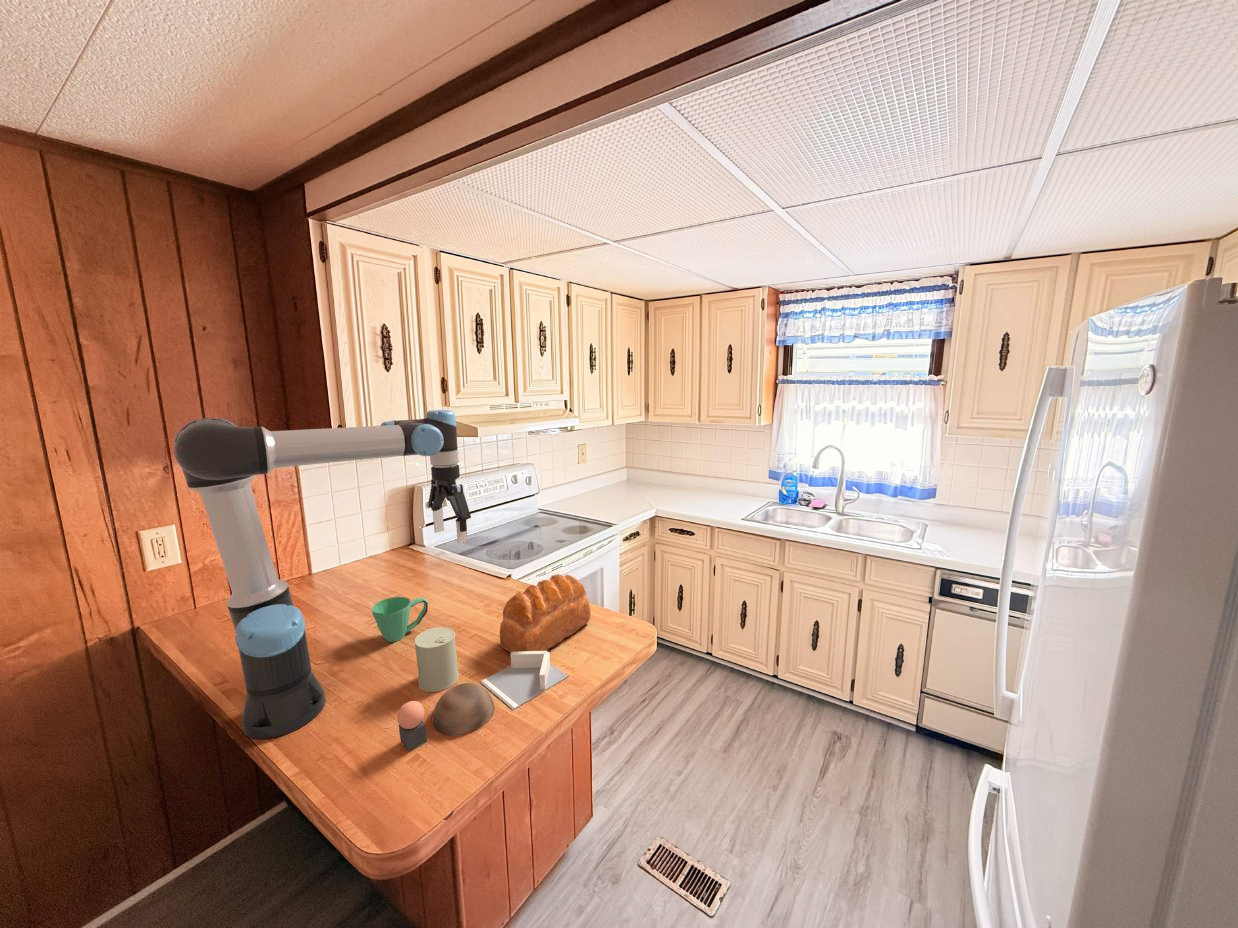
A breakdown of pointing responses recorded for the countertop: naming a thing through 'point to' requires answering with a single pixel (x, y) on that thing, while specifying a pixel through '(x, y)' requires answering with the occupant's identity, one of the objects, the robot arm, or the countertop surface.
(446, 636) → the can
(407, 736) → the dark grey hollow cube
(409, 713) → the ball
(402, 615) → the mug
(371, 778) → the countertop surface
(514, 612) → the bread
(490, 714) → the dome
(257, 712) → the robot arm
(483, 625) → the countertop surface
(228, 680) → the countertop surface
